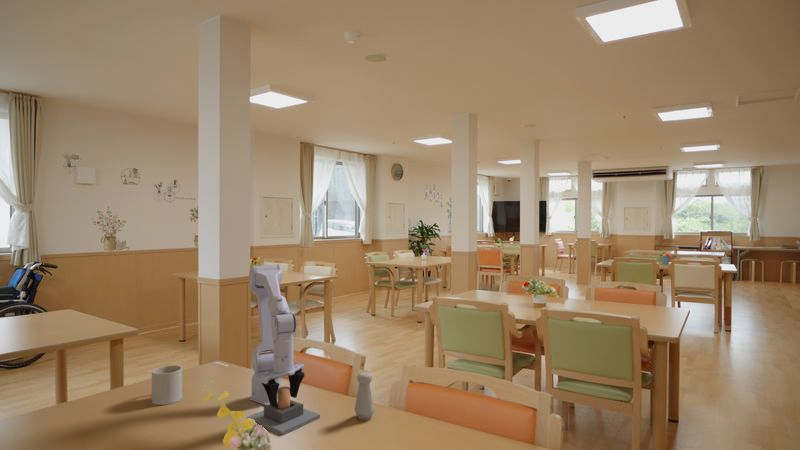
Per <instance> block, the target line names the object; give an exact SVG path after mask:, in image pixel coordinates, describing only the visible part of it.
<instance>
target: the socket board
mask: <svg viewBox="0 0 800 450" xmlns="http://www.w3.org/2000/svg"><path fill="white" fill-rule="evenodd" d="M247 418H251V419H254V420H255V422H256V423H257V424H259V425H262V426H263V427H265V428H264V429H265V430H269V431H271V432H273V433H275V432H276V434H279V435H280V434H281V435H280V436H285V435H286V434H288V433H289V434H290V433H291V432H293V431H295V430H298V429H299V428H301V427H303V426H306V425H308V424H310V423H312V422H314V421H316V420H318V419H320V418H321V413H317V412H315V411H312V410H309V409H306V408H304V404H303V403H301V402H299V401H295V400H291V399H290V408H287V409H285V410H280V409H278V401H277V404H276V406H272V405H267V406H266V405H264V406H263V410H260V411H259V412H258V411H257V412H256V413H253V414H251V415H249V416H246V419H247ZM263 427H262V428H263Z"/></svg>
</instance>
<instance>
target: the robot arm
mask: <svg viewBox="0 0 800 450" xmlns="http://www.w3.org/2000/svg"><path fill="white" fill-rule="evenodd" d="M282 268H283V267H281V265H280V264H274V265H273V264H272V265H251V267H250V268H249V273H248V277H249V288H250V292H252V293H254V294H255V297H256V300H257V310H258V311H257V312H258V322H259V323H258V324H259V333H260V334H259V335H260V343H259V344H258V345H257V346H256V347H255V348H254V349H253V351H252V369H253V372H254V373H253V375H252V378H251V397H249V400H250V401H252V402H255V403H259V404H260V405H262V406H263V405H264V406H267V405H272V406H276V404H277V401H278V388H280V387H282V378H283V377H284V378H285V377H286V376H287V377H288V382H289V387H290V398H291V397H292V398H294V399H297V396H298V392H299V389H300V386H301V383H302V381H303V379H304V378H305V374H306V373H305V372H304V371H305V364H304V363H301V362H299V363H296V364H295V363H294V355H295V354H294V353H295V352H294V343H295V342H294V333H296V331H297V318H296V317H297V316H296V315H295V313H294V312H293V310H290V307H289V305H288V302H287V297H285V296H283V295H282V294H281V293H282V292H281V289H280V285H281V282H282V280H283V269H282Z"/></svg>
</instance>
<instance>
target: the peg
mask: <svg viewBox="0 0 800 450" xmlns="http://www.w3.org/2000/svg"><path fill="white" fill-rule="evenodd" d="M290 400H291V396H290V386H281V387H280V388H278V409H280V410H285V409H287V408H290Z"/></svg>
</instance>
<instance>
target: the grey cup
mask: <svg viewBox="0 0 800 450" xmlns="http://www.w3.org/2000/svg"><path fill="white" fill-rule="evenodd" d="M182 399H183V367H182V366H181V365H176V364H175V365H173V364H172V365H164V366H160V367H157V368H154V369H153V370H152V371H151V403H152V405H155V406H165V405H172V404H175V403H177V402H179V401H181V400H182Z"/></svg>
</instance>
